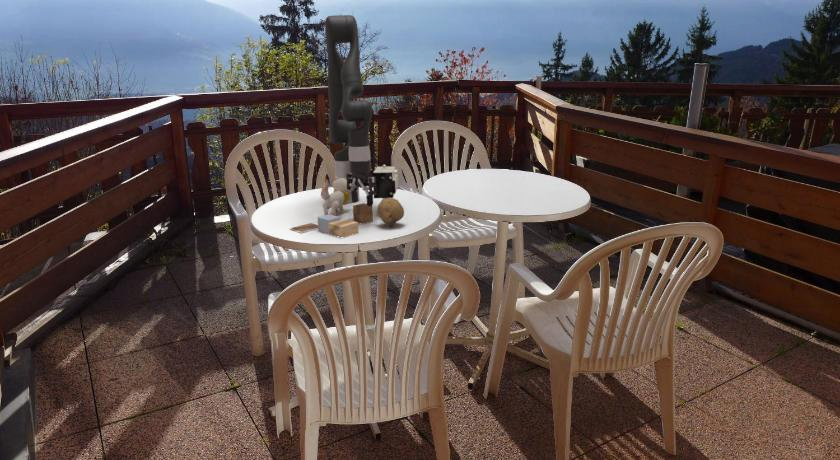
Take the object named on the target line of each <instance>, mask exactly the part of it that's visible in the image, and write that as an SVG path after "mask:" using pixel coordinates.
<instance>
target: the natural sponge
mask: <svg viewBox="0 0 840 460" xmlns="http://www.w3.org/2000/svg"><path fill="white" fill-rule="evenodd" d="M381 200H382V199H381ZM397 200H398V199H396V198H394V197H393V198H387V199H384V200H382V201H380V202H379V203H378V205H377V211H378V215H379V219H381V221H382V223H383V224H385V225H386V226H387V227H392V226H394V225H395V224H396V223H397V222H399V221H400V220H402V218H404V216H405V210H404V207H403V206H402V203H401V202H400V201H399V200H398V201H397Z"/></svg>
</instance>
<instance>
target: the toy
mask: <svg viewBox="0 0 840 460" xmlns="http://www.w3.org/2000/svg"><path fill="white" fill-rule="evenodd" d="M350 186H351V183H350ZM332 187H333V192H331V193H329V188H330V182H329V180H328V179H327V178H325V181H324V184H323V186H322V187H321V191H320V197H321V199H322V200H324V201H323V203H322V207H323V212H324V215H328V214H329V210H330V209H331V215H334V216H337V213H338V211H339V213H340V215H341V214H344V206H347V204H348V203H347V201H348V200H349V199H350V196H349V194H348V193H350V190H347V177H346V178H340V179H339V178H338V177H337V176H336V175H334V180H333V181H332Z"/></svg>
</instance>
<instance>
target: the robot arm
mask: <svg viewBox="0 0 840 460" xmlns="http://www.w3.org/2000/svg"><path fill="white" fill-rule="evenodd" d="M324 23H325V24H324V26H325V28H324V30H325V41H326V53H327V90H328V91H327V93H328V104H329V105H328V106H329V108H328V112H329V113H328V137H329V140H330V142H331V143H332V144H346V143H347V145H346V146H345V147H344V148H342V149H340V150H338V151H335V153H334V154H333V155H334V156H333V158H334V172H335V173H334V174H335V176H337V177H338V178H339V179H340V178H346V177H347V190H350V193H348V194H349V196H350V199H349V200H348V201H347V204H349V203H358V202H359V201H360V199H361V198H360V189H362V191H364V193H365V194H366V196H365V197H366V204H367V206H372V207H373V205H374V194H376V193H377V186H376V177H373V176H370V172H371V171H372V163H371V150H370V140H369V139H370V138H369V135H370V134H369V132H370V124H371V120H372V115H373V106H372V103H371V102H370V101H369V100H366V99H361V100H360V99H359V100H353V99H356V98H358V97H360V96H362V95H363V93H364V84H363V80H362V79H363V78H362V74H361V64H360V44H359V43H360V42H359V30H358V23H357V20H356V17H355V16H354V15H350V14H349V15H348V14H345V15H343V14H341V15H335V14H334V15H328V16H327V17H326V19H325V22H324ZM345 43H348V44H349V51H348V53H347V56H346V58H345V60H344V59H342V57H341V55H340V54H339V51H338V49H337V47H336V46H337V44H345ZM340 114H341V116H342V119H339V117H340ZM356 122H360V125H359V126H357V124H356ZM350 183H351V186H350ZM373 188H374V191H373Z"/></svg>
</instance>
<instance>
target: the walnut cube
mask: <svg viewBox="0 0 840 460" xmlns="http://www.w3.org/2000/svg"><path fill="white" fill-rule="evenodd" d="M352 214H353V215H352V216H353V221H355V222H358V224H360V223H362V224H361V225H364V224H363V223H365V224H368V223H367V222H369V223H372V222H374V208H373V205H372V206H367V203H366V202H363V203H358V204H354V205H352ZM371 221H372V222H371Z"/></svg>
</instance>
